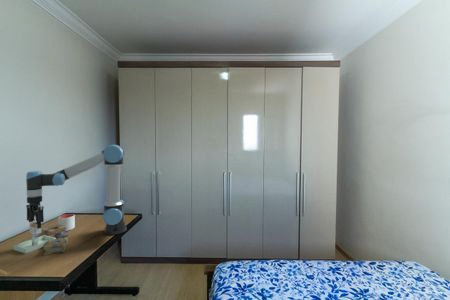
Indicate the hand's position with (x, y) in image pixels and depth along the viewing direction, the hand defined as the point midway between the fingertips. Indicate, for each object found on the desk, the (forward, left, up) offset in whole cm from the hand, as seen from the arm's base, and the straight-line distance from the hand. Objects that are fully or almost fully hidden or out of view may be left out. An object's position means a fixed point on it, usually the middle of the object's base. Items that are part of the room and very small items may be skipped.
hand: (35, 232), depth 149 cm
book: (-15, -3, -9) cm, 18 cm away
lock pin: (+1, 0, -8) cm, 8 cm away
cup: (+11, -27, -9) cm, 31 cm away
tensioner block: (+8, -16, -9) cm, 20 cm away
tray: (0, 0, -9) cm, 9 cm away
